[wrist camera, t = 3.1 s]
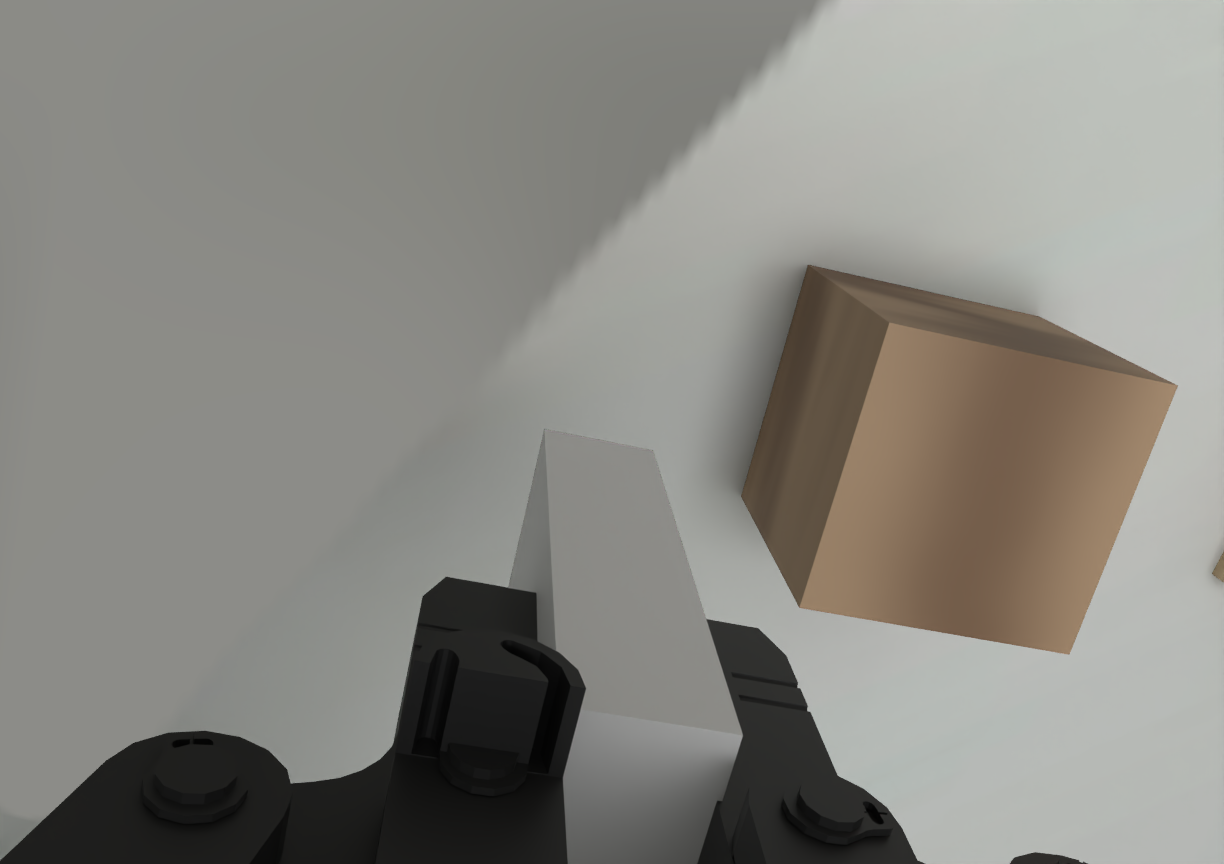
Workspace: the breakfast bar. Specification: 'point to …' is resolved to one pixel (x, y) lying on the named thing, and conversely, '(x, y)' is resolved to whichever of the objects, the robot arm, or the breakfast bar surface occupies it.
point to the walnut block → (947, 461)
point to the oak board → (1220, 569)
